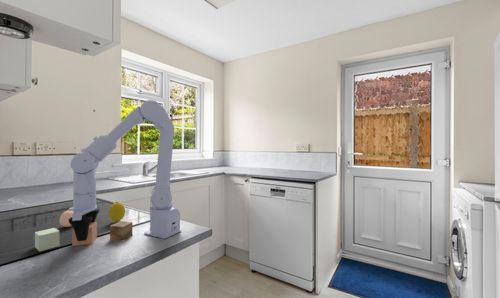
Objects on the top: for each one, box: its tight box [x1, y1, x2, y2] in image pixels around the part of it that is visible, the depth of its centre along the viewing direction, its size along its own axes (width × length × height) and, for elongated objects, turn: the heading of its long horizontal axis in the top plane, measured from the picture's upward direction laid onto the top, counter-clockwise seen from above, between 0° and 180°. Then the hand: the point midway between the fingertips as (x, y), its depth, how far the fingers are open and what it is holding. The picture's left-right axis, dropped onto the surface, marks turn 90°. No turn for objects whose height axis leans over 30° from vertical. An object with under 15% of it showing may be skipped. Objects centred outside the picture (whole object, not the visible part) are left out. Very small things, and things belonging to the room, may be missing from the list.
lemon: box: [108, 201, 126, 223], centre depth 90 cm, size 6×6×8 cm
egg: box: [59, 209, 73, 228], centre depth 85 cm, size 5×5×6 cm
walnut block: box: [109, 220, 133, 242], centre depth 76 cm, size 4×4×4 cm
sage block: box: [34, 227, 61, 252], centre depth 69 cm, size 4×4×4 cm
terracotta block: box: [71, 221, 98, 247], centre depth 72 cm, size 5×5×5 cm
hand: (85, 236), depth 72 cm, fingers closed on terracotta block, 5 cm apart
